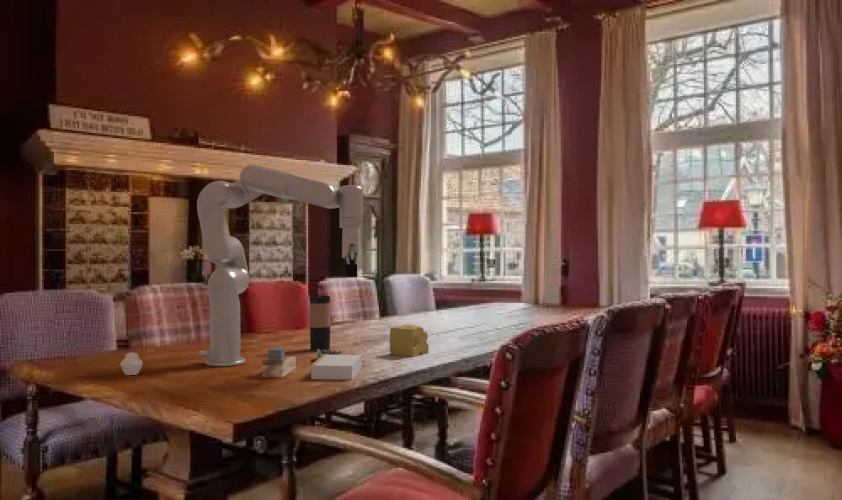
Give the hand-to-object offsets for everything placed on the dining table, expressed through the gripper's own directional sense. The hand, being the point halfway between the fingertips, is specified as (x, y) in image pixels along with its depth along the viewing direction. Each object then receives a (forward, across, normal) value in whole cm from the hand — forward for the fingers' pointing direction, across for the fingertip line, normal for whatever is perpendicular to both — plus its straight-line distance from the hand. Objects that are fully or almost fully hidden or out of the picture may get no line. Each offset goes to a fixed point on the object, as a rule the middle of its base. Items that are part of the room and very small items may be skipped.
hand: (351, 276), depth 210 cm
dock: (+29, +12, -5) cm, 32 cm away
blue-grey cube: (+26, +10, -23) cm, 36 cm away
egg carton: (+30, -11, -7) cm, 32 cm away
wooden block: (+30, +8, -22) cm, 38 cm away
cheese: (+29, -20, +22) cm, 42 cm away
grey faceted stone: (+29, +6, -66) cm, 72 cm away
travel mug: (+29, -35, -10) cm, 47 cm away
